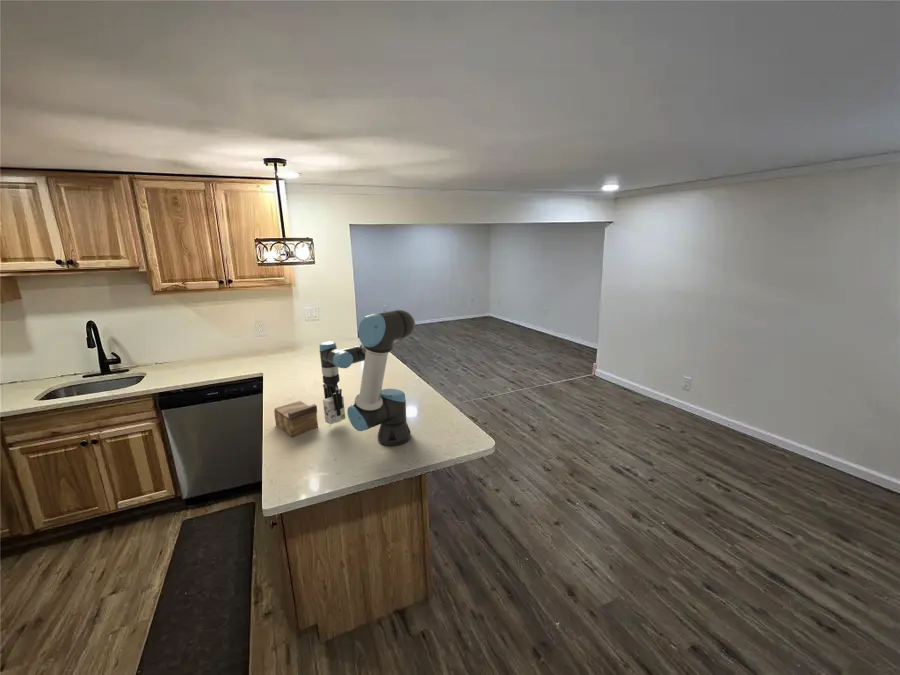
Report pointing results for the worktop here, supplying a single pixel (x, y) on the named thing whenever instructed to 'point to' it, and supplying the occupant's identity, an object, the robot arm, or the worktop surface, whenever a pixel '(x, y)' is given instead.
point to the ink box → (332, 410)
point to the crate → (296, 424)
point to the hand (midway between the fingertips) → (335, 419)
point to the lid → (296, 410)
